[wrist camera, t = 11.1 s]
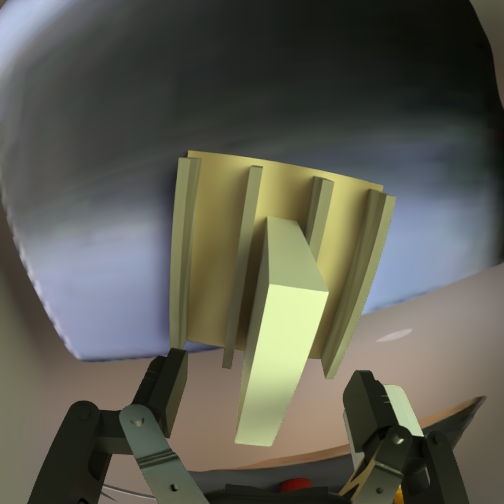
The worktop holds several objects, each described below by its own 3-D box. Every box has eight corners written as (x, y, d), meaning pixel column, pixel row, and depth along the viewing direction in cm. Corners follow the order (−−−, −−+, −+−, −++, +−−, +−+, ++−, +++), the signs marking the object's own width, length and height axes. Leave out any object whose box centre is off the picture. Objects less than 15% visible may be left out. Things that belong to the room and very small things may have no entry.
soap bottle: (329, 412, 31) (352, 577, 8) (383, 373, 29) (443, 549, 5) (365, 428, 33) (394, 563, 10) (413, 394, 30) (467, 533, 7)
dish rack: (178, 332, 27) (166, 360, 23) (191, 150, 21) (174, 150, 17) (327, 353, 28) (335, 382, 23) (378, 184, 21) (402, 192, 17)
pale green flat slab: (245, 338, 26) (234, 442, 15) (267, 216, 22) (269, 283, 11) (270, 341, 26) (270, 446, 15) (296, 221, 22) (328, 292, 11)
